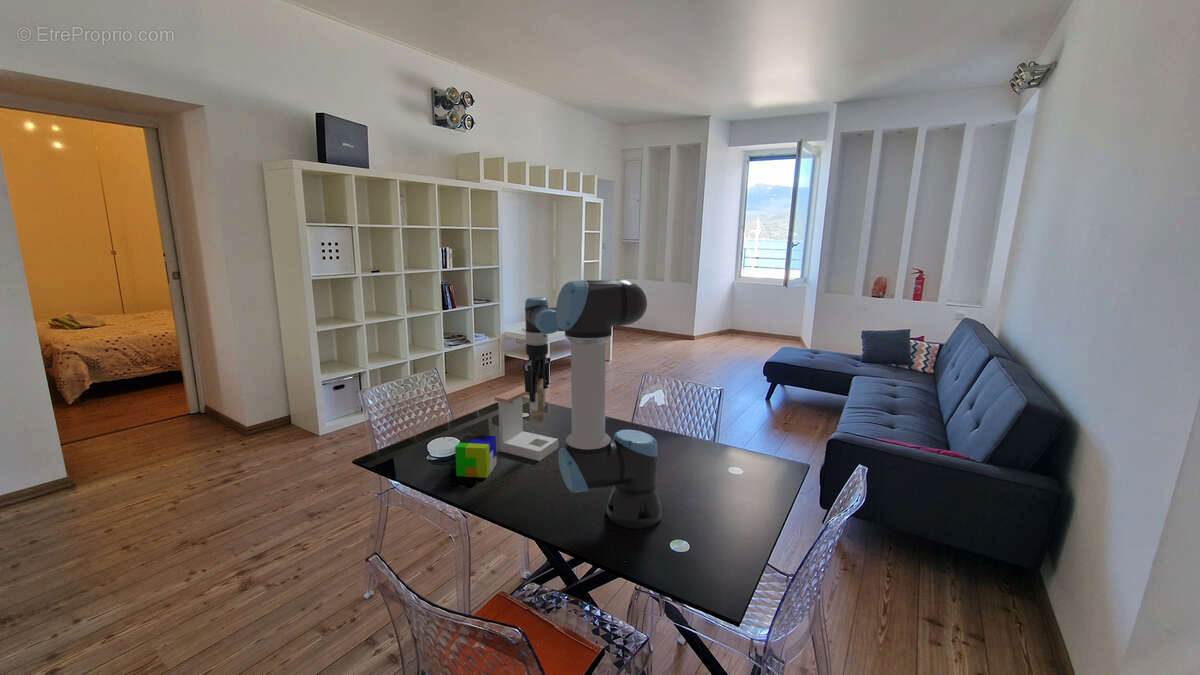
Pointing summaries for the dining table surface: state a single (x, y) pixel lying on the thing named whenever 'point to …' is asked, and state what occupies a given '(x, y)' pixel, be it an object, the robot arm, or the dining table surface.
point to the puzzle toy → (475, 456)
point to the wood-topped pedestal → (511, 413)
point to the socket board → (530, 445)
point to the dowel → (539, 403)
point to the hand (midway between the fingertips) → (537, 408)
